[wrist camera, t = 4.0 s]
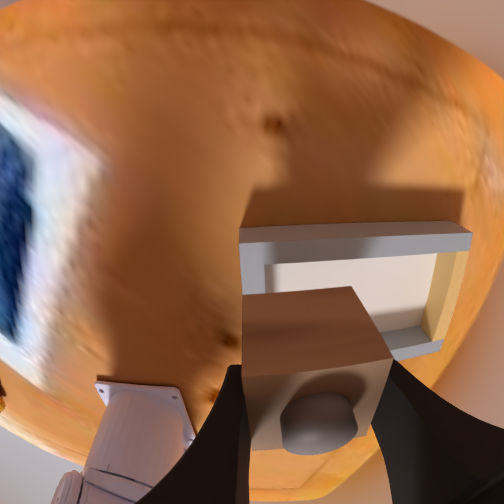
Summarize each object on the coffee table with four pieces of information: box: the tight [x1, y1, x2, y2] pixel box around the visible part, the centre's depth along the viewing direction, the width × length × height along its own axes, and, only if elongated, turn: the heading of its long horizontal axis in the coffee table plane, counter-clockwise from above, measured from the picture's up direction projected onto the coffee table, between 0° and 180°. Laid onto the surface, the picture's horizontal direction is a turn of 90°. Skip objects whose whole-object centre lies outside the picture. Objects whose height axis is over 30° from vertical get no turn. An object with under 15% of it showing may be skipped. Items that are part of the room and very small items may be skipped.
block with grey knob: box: [241, 286, 394, 455], centre depth 10 cm, size 4×4×6 cm
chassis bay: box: [239, 221, 473, 361], centre depth 17 cm, size 9×14×2 cm, turn 93°
